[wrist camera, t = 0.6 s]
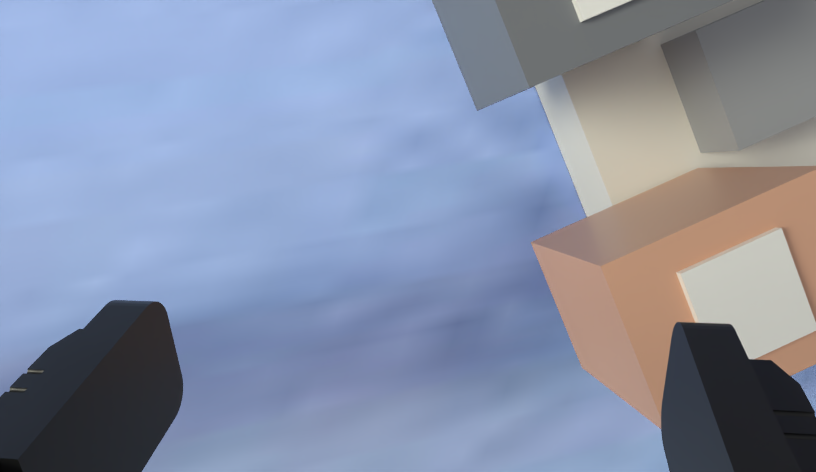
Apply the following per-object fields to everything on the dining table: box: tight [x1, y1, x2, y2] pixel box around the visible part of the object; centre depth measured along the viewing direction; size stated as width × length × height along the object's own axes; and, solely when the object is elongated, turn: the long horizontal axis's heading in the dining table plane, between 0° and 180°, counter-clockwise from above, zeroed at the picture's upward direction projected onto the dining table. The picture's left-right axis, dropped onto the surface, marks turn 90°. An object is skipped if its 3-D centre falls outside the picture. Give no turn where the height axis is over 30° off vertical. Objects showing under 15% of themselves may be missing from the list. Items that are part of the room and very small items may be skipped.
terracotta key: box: [531, 166, 816, 429], centre depth 27 cm, size 6×8×8 cm
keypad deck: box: [535, 0, 816, 217], centre depth 31 cm, size 21×12×7 cm, turn 23°
